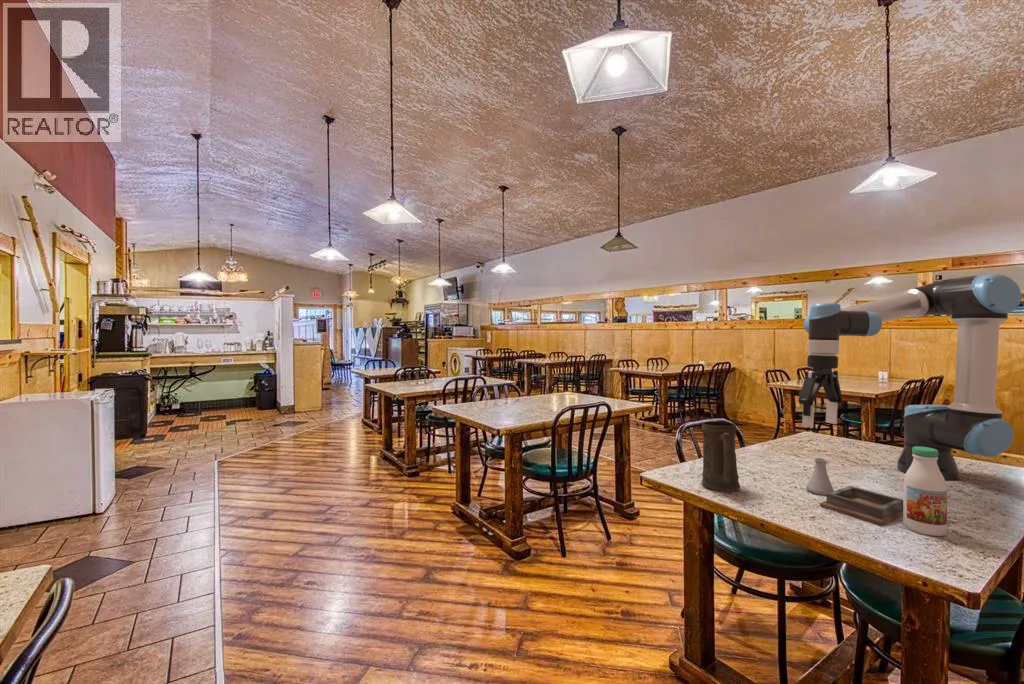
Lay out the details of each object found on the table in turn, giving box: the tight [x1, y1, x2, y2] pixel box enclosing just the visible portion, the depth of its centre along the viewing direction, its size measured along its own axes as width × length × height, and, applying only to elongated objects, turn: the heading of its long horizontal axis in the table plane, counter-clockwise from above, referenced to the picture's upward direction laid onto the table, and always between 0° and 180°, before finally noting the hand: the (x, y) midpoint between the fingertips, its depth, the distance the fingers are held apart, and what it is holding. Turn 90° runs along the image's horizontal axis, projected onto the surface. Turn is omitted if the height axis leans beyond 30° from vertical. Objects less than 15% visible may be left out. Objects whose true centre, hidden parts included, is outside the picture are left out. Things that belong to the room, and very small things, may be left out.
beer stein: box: [701, 420, 741, 492], centre depth 134 cm, size 15×11×20 cm
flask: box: [806, 457, 835, 496], centre depth 131 cm, size 7×7×10 cm
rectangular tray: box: [819, 485, 903, 527], centre depth 118 cm, size 16×14×4 cm
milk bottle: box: [902, 446, 948, 537], centre depth 105 cm, size 8×8×20 cm
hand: (819, 425), depth 131 cm, fingers open, 13 cm apart
